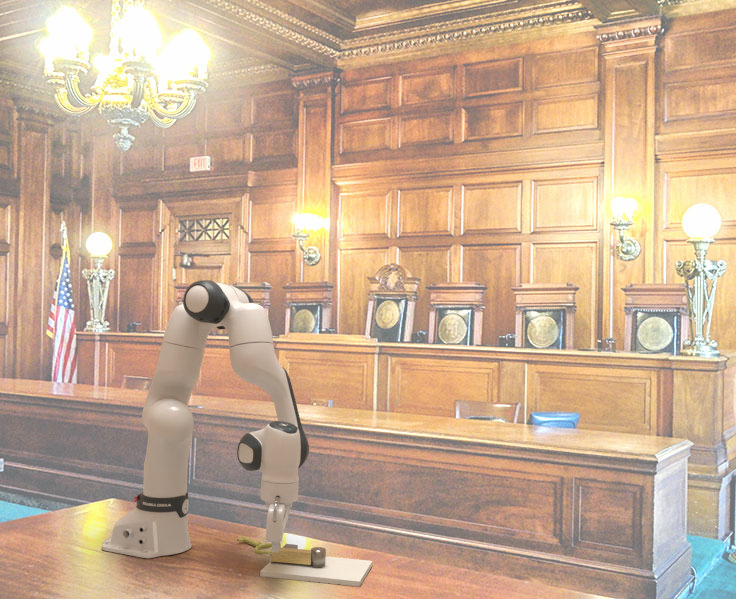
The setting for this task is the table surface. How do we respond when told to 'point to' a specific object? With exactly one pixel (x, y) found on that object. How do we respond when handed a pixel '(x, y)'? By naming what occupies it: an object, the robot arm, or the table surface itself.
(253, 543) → the key
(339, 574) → the lock plate
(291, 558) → the swing arm
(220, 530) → the table surface
